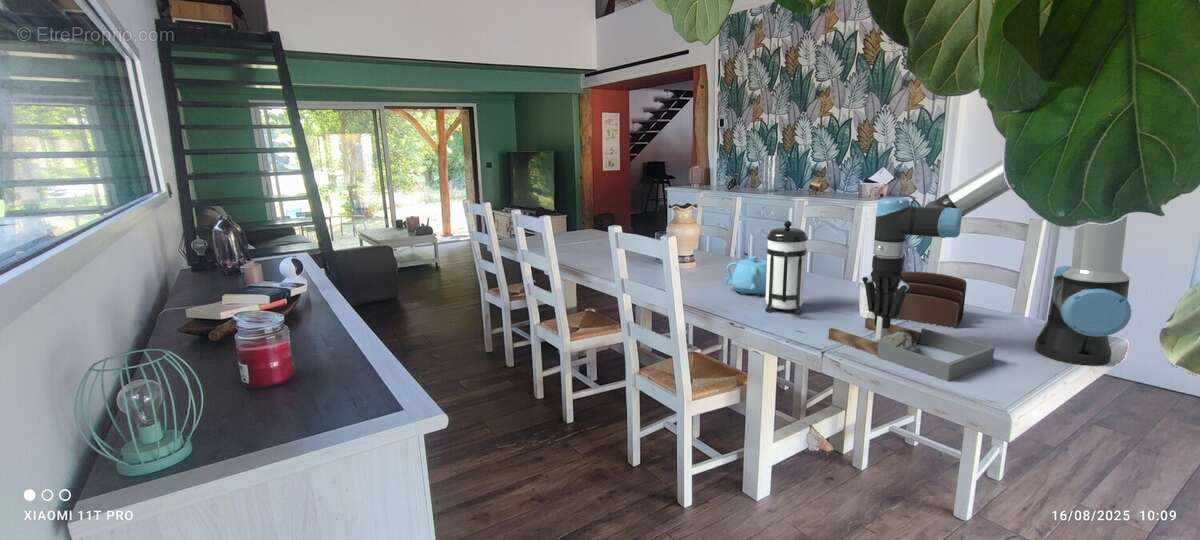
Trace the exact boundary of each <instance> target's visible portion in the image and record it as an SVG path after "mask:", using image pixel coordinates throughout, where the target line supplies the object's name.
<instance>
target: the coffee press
mask: <svg viewBox="0 0 1200 540" xmlns="http://www.w3.org/2000/svg"><path fill="white" fill-rule="evenodd" d="M791 226H792V222H791V221H790V220H786V221H784V222H783V227H778V228H773V229H772V230H770V231H769V232H768V235H767V236H766V240H767V247H766V261H767V274H766V293H765V303H766V304H767V306H766V307H765V312H767V313H768V314H769V313H772V311H773V310H774V309H778V310H792V311H794V313H795V315H796V316H797V315H801V314H802V313H803V312H802V311H803V310H802V308H801V307H802V306H803V304H804V303H803V302H804V290H805V287H804V286H805V285H804V284H805V275H806V274H805V273H806V272H805V270H806V255H807V250H808V249H807V242H808V241H809V240H808V239H809V237H808V236H807V234H806V232H805V231H804V230H803V229H799V228H796V227H795V228H794V227H791Z"/></svg>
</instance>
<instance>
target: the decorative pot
mask: <svg viewBox="0 0 1200 540" xmlns="http://www.w3.org/2000/svg"><path fill="white" fill-rule="evenodd" d="M758 258H759V257H758V256H756V255H750V256H748V258H746V259H745V258H744V259H740V260H738V261H737V262H736V261H733V262H730V263H729V264H727V266H726V271H727V275H728V277H726V278H725V283H726V285H731V286H732V288H733V289H734V291H736V292H737V293H739V294H740V295H742V294H743V296H744V295H745V296H746V295H748V294H757V295H758V296H766V274H767V259H766V260H765V259H758ZM731 266H735V267H734V270H733V272H732V274H731V271H730V268H731ZM728 280H729V281H728Z"/></svg>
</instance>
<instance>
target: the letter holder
mask: <svg viewBox="0 0 1200 540" xmlns="http://www.w3.org/2000/svg"><path fill="white" fill-rule="evenodd" d="M901 274H902V277H903V281H904V282H905V283H906V284H909V285H911V288H910V289H909V290H908V291H907V292H906V295H905V298H904V301H903V304H902V306H901V309H900V312H899V315H898V316H895V317H893V318H892V319H897V318H899V320H903V319H905V320H904V321H909V320H911V321H910V322H915V321H916V323H921V322H922V324H927V323H929V324H928V325H933V324H936V325H935V326H939V325H941V326H940V327H945V326H947V327H946V328H951V327H953V328H952V329H957V328H958V327H959V325H960V324H961V323H962V321H963V319H964V318H963V317H964V309H965V301H966V300H965V299H966V293H967V284H968V283H967V281H966V279H964V278H961V277H957V276H952V275H947V274H942V273H934V272H925V271H912V270H911V271H905V270H904V271H903V270H902V273H901ZM898 287H899V285H898V286H897V287H896V291H895V293H894V299H895V296H896V293H897V291H898V290H899V289H898ZM893 302H894V300H893Z"/></svg>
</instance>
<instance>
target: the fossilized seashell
mask: <svg viewBox="0 0 1200 540" xmlns="http://www.w3.org/2000/svg"><path fill="white" fill-rule="evenodd" d="M877 342H878V343H879V342H883V343H886V344H889V345H892V346H895V347H899V348H902V349H905V350H908V351H911V352H914V353H918V354H921V355H922V350H921V348H920V347H919V346H918V345H917V344H918V343H916V342H915V341H914V340H913V339H912V337H911V336H910V334H908V333H904V332H896V333H894V334H890V335H887V336H884V337H882V338H881V339H880V340H878V341H877Z"/></svg>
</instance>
